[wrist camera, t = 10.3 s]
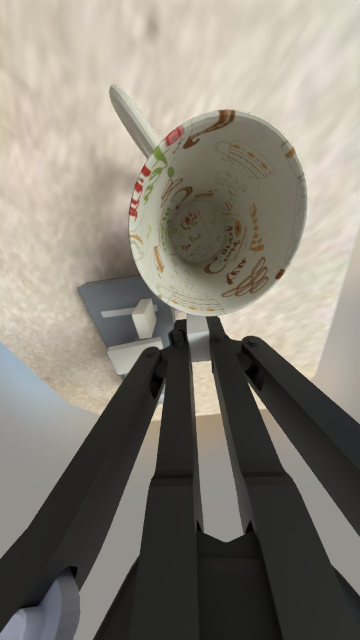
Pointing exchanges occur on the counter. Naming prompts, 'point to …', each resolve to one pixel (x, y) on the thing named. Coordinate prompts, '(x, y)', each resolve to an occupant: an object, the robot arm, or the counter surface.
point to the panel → (124, 311)
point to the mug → (213, 208)
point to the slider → (144, 318)
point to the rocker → (130, 353)
